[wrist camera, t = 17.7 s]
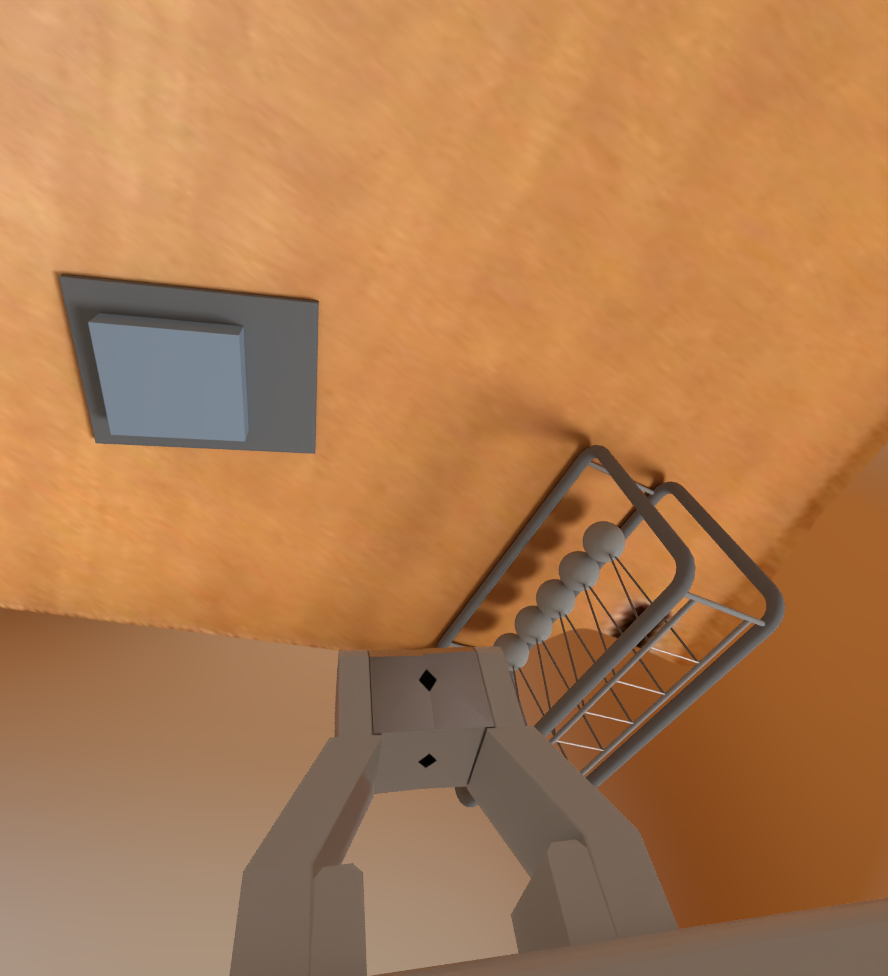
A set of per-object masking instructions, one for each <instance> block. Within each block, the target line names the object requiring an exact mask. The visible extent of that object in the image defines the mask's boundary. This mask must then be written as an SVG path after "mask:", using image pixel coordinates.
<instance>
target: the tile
mask: <svg viewBox="0 0 888 976" xmlns="http://www.w3.org/2000/svg"><path fill="white" fill-rule="evenodd" d="M88 324H89V329H90V334H91V339H92V344H93V349H94V354H95V359H96V364H97V369H98V374H99V378H100V383H101V388H102V393H103V398H104V403H105V408H106V413H107V418H108V423H109V428H110V433H111V435H126V436H146V437H166V438H185V439H205V440H225V441H245V440H246V436H247V433H248V430H249V425H248V406H247V386H246V366H245V347H244V327H243V326H236V325H225V324H215V323H204V322H193V321H182V320H171V319H160V318H149V317H139V316H128V315H117V314H106V313H99V314H98V315H96V316H95V317H94V318H93V319H91V320H90V321H89V322H88Z"/></svg>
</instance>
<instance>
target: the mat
mask: <svg viewBox="0 0 888 976" xmlns="http://www.w3.org/2000/svg"><path fill="white" fill-rule="evenodd" d="M59 279H60V284H61V288H62V293H63V297H64V302H65V306H66V311H67V315H68V320H69V324H70V329H71V334H72V338H73V343H74V347H75V352H76V356H77V361H78V365H79V370H80V374H81V379H82V383H83V388H84V392H85V397H86V401H87V406H88V411H89V415H90V420H91V424H92V429H93V433H94V438H95V442H96V443H102V444H124V445H145V446H166V447H187V448H208V449H229V450H250V451H272V452H293V453H314V454H315V440H316V395H317V350H318V305H319V301H313V300H303V299H294V298H284V297H275V296H265V295H256V294H246V293H236V292H227V291H217V290H208V289H198V288H188V287H179V286H169V285H160V284H150V283H140V282H131V281H121V280H112V279H102V278H93V277H83V276H73V275H64V274H63V275H61V276H59ZM99 313H106V314H117V315H128V316H139V317H149V318H160V319H171V320H182V321H193V322H204V323H215V324H225V325H236V326H243V327H244V347H245V366H246V386H247V406H248V425H249V430H248V433H247V436H246V440H245V441H225V440H205V439H185V438H166V437H146V436H126V435H111V433H110V428H109V423H108V418H107V413H106V408H105V403H104V398H103V393H102V388H101V383H100V378H99V374H98V369H97V364H96V359H95V354H94V349H93V344H92V339H91V334H90V329H89V324H88V322H89V321H90V320H91V319H93V318H94V317H95V316H96V315H98V314H99Z"/></svg>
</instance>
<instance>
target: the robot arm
mask: <svg viewBox="0 0 888 976" xmlns="http://www.w3.org/2000/svg"><path fill="white" fill-rule="evenodd" d="M464 786H468V787H467V790H468V791H469V792H470V794H471V795H472V797H473V798H474V799H475V801H476V802H477V803H478V805H479V806H480V808H481V809H482V810H483V812H484V813H485V815H486V816H487V817H488V819H489V820H490V822H491V823H492V824H493V826H494V827H495V828H496V830H497V831H498V833H499V834H500V835H501V837H502V838H503V840H504V841H505V842H506V844H507V845H508V847H509V848H510V849H511V851H512V852H513V853H514V855H515V856H516V858H517V859H518V861H519V862H520V863H521V865H522V866H523V868H524V869H525V870H526V872H527V873H528V875H529V876H530V877H531V880H530V882H529V884H528V885H527V887H526V889H525V891H524V892H523V894H522V896H521V898H520V900H519V902H518V903H517V905H516V907H515V908H514V910H513V912H512V914H511V917H512V922H513V927H514V932H515V937H516V942H517V947H518V952H519V953H518V954H512V955H506V956H498V957H492V958H485V959H479V960H472V961H465V962H459V963H452V964H445V965H439V966H432V967H426V968H420V969H412V970H406V971H399V972H392V973H386V974H379V975H373V976H888V898H884V899H876V900H869V901H863V902H856V903H850V904H843V905H837V906H830V907H823V908H817V909H810V910H803V911H797V912H790V913H784V914H777V915H770V916H763V917H757V918H751V919H744V920H737V921H730V922H724V923H717V924H711V925H704V926H697V927H691V928H685V929H679V928H678V926H677V923H676V921H675V918H674V916H673V914H672V911H671V908H670V906H669V904H668V901H667V899H666V896H665V894H664V891H663V889H662V887H661V884H660V882H659V879H658V876H657V874H656V872H655V869H654V867H653V864H652V862H651V859H650V857H649V854H648V852H647V849H646V847H645V844H644V842H643V840H642V837H641V835H640V832H639V831H638V829H637V828H636V827H634V825H632V823H630V821H629V820H628V819H626V818H625V817H624V816H623V815H622V814H621V813H620V812H619V811H618V810H617V809H616V808H615V807H614V806H613V805H612V804H611V803H610V802H609V801H608V800H607V799H606V798H605V797H604V796H603V795H602V794H601V793H600V792H599V791H598V790H597V789H596V788H595V787H594V786H593V785H592V784H591V783H590V782H589V781H588V780H587V779H586V778H585V777H584V776H583V775H582V774H581V773H580V772H579V771H578V770H577V769H576V768H575V767H574V766H573V765H572V764H571V763H570V762H569V761H568V760H567V759H566V758H565V757H564V756H563V755H562V754H561V753H560V752H559V751H558V750H557V749H556V748H555V747H554V746H553V745H552V744H551V743H550V742H549V741H548V740H547V739H546V738H545V737H544V736H543V735H542V734H541V733H540V732H539V731H538V730H537V729H536V728H535V727H534V726H525V723H524V719H523V716H522V713H521V709H520V706H519V703H518V699H517V696H516V693H515V689H514V686H513V683H512V679H511V676H510V673H509V669H508V666H507V663H506V659H505V656H504V653H503V651H502V649H501V648H500V647H498V646H493V647H473V648H472V647H448V648H424V649H420V650H368V651H367V650H339V654H338V668H337V683H336V702H335V737H332V738H329V740H328V741H327V743H326V744H325V746H324V747H323V749H322V751H321V752H320V754H319V755H318V757H317V758H316V760H315V761H314V763H313V765H312V766H311V768H310V769H309V771H308V772H307V774H306V775H305V777H304V779H303V780H302V782H301V783H300V785H299V786H298V788H297V789H296V791H295V792H294V794H293V795H292V797H291V799H290V800H289V802H288V803H287V805H286V806H285V808H284V809H283V811H282V812H281V814H280V816H279V817H278V819H277V820H276V822H275V823H274V825H273V826H272V828H271V830H270V831H269V833H268V834H267V836H266V837H265V839H264V840H263V842H262V843H261V845H260V846H259V848H258V850H257V851H256V853H255V854H254V856H253V857H252V859H251V860H250V862H249V863H248V865H247V867H246V868H245V870H244V871H243V877H242V885H241V892H240V900H239V908H238V915H237V923H236V931H235V938H234V946H233V953H232V961H231V968H230V976H367V968H366V967H367V966H366V943H365V942H366V941H365V915H364V887H363V872H362V871H361V870H360V869H358V868H357V867H356V866H355V865H354V864H353V863H351V864H342V865H341V863H342V862H343V860H344V858H345V855H346V853H347V851H348V849H349V847H350V845H351V843H352V841H353V839H354V836H355V834H356V832H357V830H358V828H359V826H360V824H361V822H362V820H363V818H364V816H365V813H366V812H367V810H368V807H369V805H370V803H371V801H372V799H373V795H374V794H377V793H387V792H395V791H404V790H414V789H426V788H443V787H444V788H445V787H464Z"/></svg>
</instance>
